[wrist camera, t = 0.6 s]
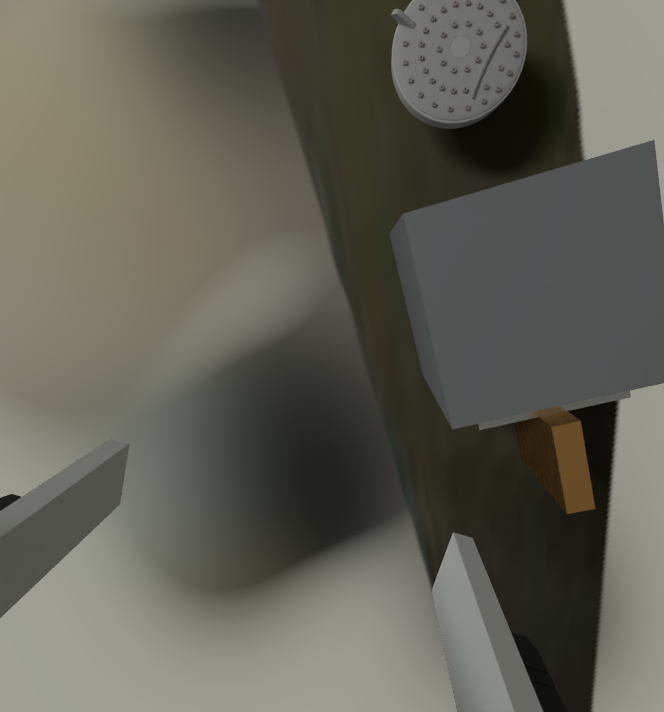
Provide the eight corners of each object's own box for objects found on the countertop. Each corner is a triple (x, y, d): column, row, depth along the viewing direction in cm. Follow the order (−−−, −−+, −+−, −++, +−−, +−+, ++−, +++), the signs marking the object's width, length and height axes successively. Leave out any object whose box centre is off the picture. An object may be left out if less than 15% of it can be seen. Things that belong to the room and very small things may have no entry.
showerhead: (424, -68, 27) (560, -1, 27) (412, 3, 34) (519, 55, 34) (362, 80, 29) (489, 141, 29) (363, 117, 36) (464, 166, 36)
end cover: (422, 253, 34) (445, 246, 24) (543, 219, 33) (621, 197, 23) (468, 457, 38) (505, 525, 28) (579, 434, 36) (660, 496, 26)
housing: (389, 234, 38) (403, 213, 24) (543, 189, 36) (654, 140, 22) (422, 374, 40) (452, 429, 26) (568, 339, 38) (681, 379, 25)
